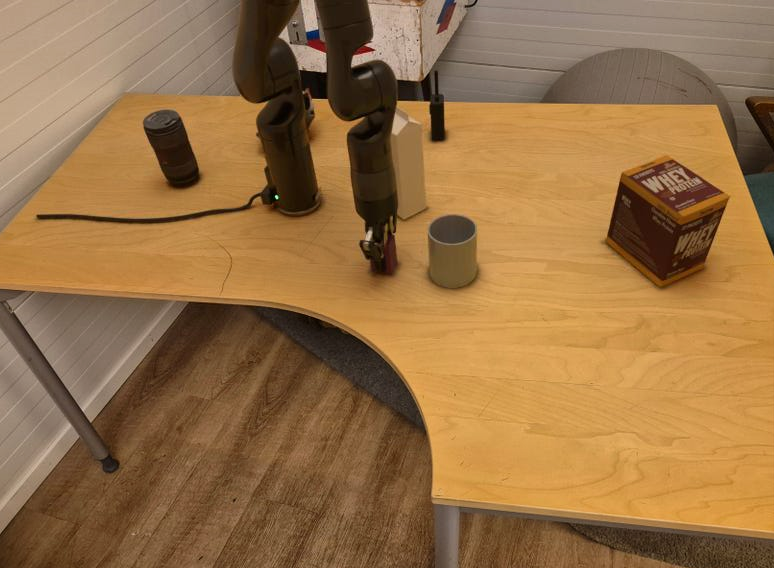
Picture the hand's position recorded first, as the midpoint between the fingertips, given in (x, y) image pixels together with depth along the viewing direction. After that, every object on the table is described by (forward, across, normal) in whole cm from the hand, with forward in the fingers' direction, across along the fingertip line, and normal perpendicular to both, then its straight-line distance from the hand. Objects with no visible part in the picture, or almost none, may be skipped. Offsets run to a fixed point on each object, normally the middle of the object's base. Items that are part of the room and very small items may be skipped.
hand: (384, 263), depth 119 cm
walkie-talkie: (+1, -48, -4) cm, 48 cm away
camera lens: (+1, -17, -55) cm, 58 cm away
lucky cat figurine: (+1, -39, -39) cm, 55 cm away
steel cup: (+1, -2, +13) cm, 13 cm away
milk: (+1, -19, -2) cm, 19 cm away
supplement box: (+1, -16, +48) cm, 51 cm away
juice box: (+1, 0, 0) cm, 1 cm away
